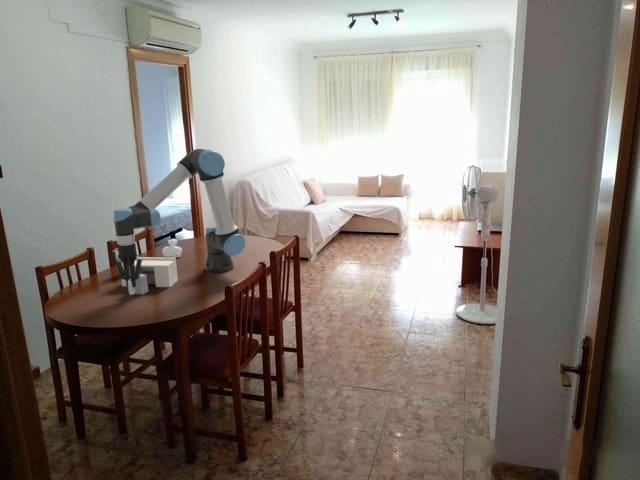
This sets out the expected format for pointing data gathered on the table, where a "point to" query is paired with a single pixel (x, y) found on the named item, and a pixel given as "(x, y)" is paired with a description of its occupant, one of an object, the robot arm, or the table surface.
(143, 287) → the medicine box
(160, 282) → the console
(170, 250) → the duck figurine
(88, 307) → the table surface
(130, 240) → the robot arm
